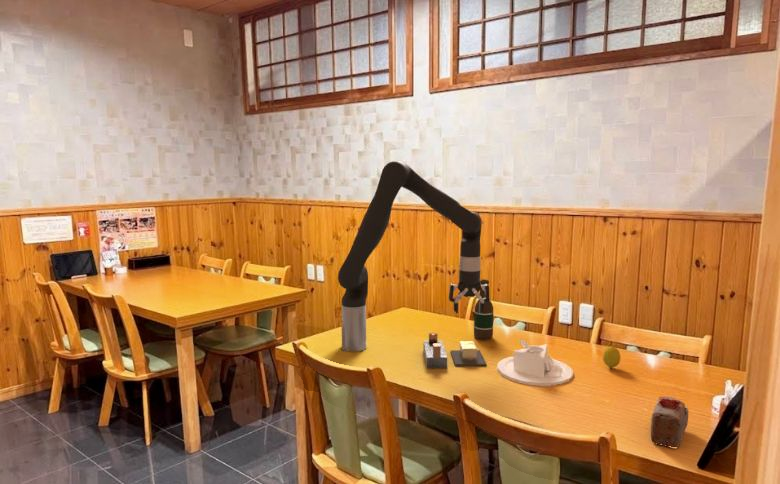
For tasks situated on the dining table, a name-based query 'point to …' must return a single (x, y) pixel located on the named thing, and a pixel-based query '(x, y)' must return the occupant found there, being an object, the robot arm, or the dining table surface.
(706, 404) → the dining table surface
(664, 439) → the food item
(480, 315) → the beer bottle
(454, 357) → the rubber mat
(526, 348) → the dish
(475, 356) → the cream block
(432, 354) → the hand plane
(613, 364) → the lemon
